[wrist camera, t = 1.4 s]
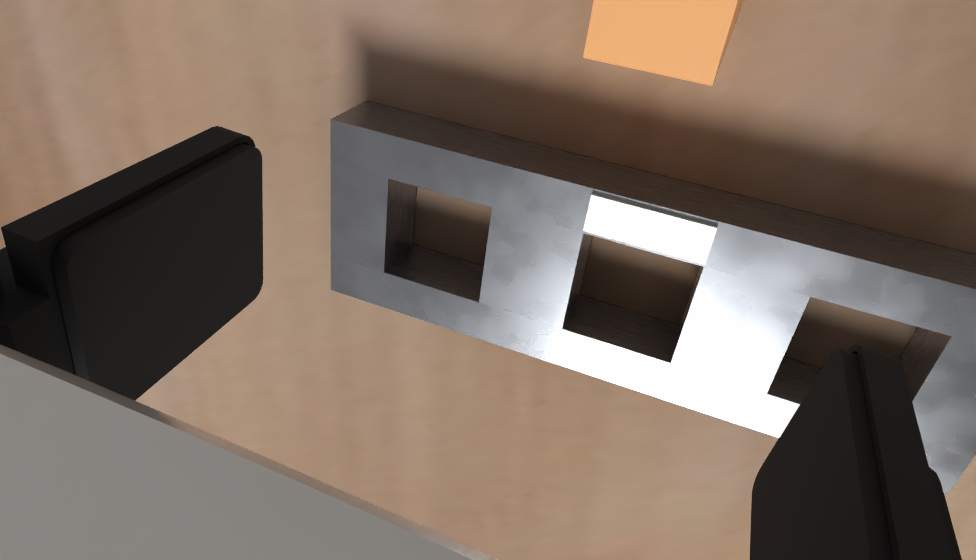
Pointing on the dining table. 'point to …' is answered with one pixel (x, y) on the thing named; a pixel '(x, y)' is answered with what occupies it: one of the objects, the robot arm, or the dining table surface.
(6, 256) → the robot arm
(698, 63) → the square peg
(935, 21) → the dining table surface
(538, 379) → the dining table surface
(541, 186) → the peg board
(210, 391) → the dining table surface
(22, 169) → the dining table surface
